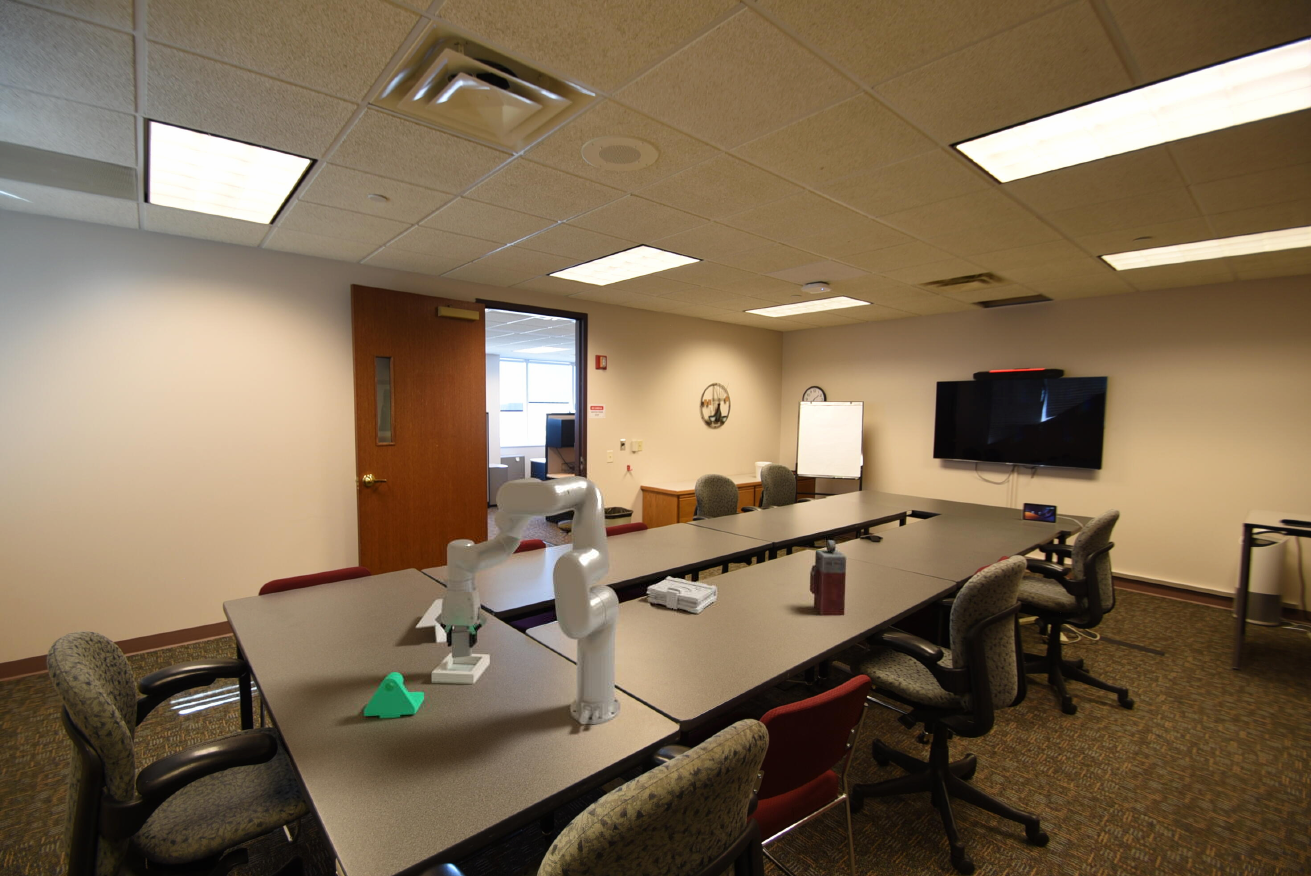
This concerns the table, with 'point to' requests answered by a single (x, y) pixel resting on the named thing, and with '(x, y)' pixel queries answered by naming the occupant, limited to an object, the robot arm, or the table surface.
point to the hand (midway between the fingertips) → (461, 644)
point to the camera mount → (393, 699)
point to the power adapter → (461, 641)
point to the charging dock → (461, 669)
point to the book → (682, 594)
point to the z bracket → (430, 621)
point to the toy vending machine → (829, 581)
